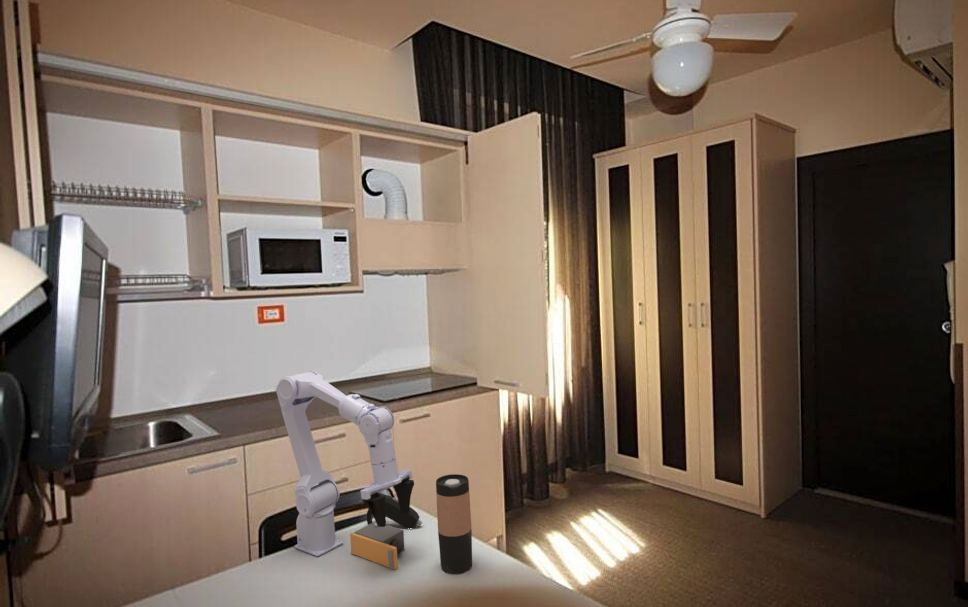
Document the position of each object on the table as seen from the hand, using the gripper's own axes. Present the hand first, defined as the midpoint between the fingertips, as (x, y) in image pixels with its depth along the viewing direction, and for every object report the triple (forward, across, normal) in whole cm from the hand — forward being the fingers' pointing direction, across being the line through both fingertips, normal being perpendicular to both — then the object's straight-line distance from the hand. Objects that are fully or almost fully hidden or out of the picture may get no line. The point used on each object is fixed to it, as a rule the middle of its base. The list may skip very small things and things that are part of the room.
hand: (394, 519), depth 125 cm
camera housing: (+9, +2, +10) cm, 14 cm away
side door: (+9, -2, +8) cm, 12 cm away
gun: (+9, +14, +17) cm, 24 cm away
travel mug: (+13, +6, -11) cm, 18 cm away
